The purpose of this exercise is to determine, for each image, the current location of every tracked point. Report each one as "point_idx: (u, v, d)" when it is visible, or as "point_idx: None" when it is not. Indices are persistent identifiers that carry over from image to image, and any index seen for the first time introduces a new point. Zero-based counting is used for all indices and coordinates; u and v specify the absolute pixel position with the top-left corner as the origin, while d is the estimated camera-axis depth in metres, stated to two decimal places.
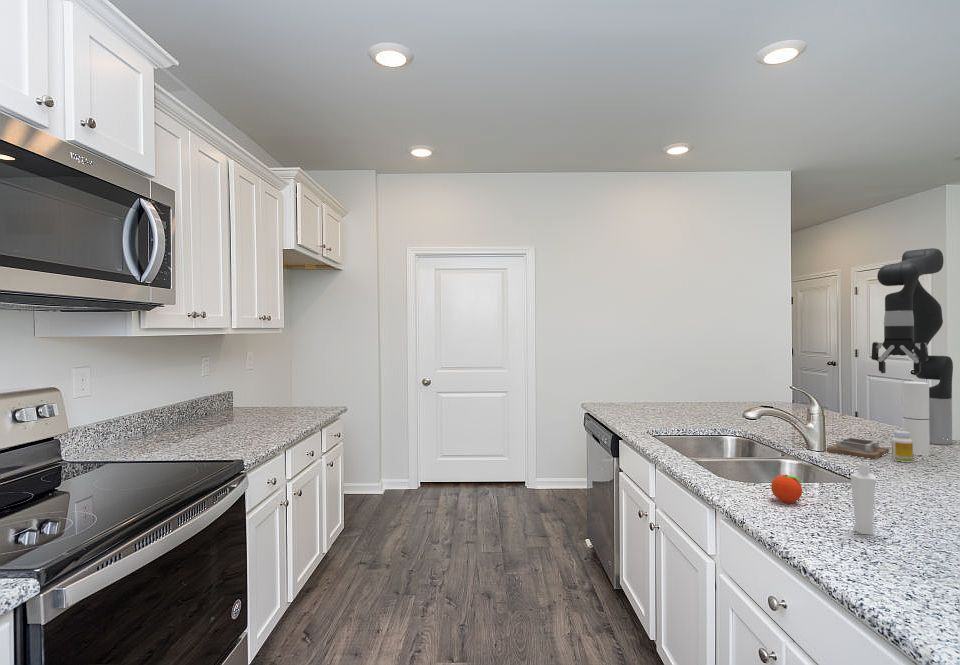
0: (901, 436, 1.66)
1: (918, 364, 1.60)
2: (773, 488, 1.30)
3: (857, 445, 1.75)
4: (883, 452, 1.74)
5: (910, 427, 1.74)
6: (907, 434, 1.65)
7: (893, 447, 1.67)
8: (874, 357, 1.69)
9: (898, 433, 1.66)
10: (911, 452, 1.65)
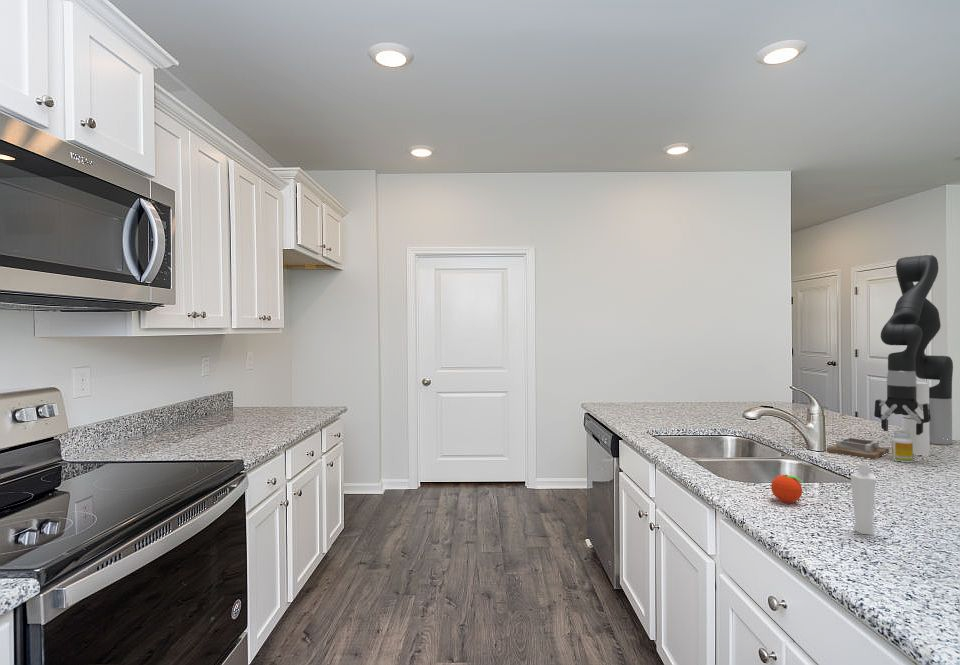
0: (901, 436, 1.66)
1: (920, 425, 1.62)
2: (773, 488, 1.30)
3: (857, 445, 1.75)
4: (883, 452, 1.74)
5: (910, 427, 1.74)
6: (907, 434, 1.65)
7: (893, 447, 1.67)
8: (877, 414, 1.71)
9: (898, 433, 1.66)
10: (911, 452, 1.65)
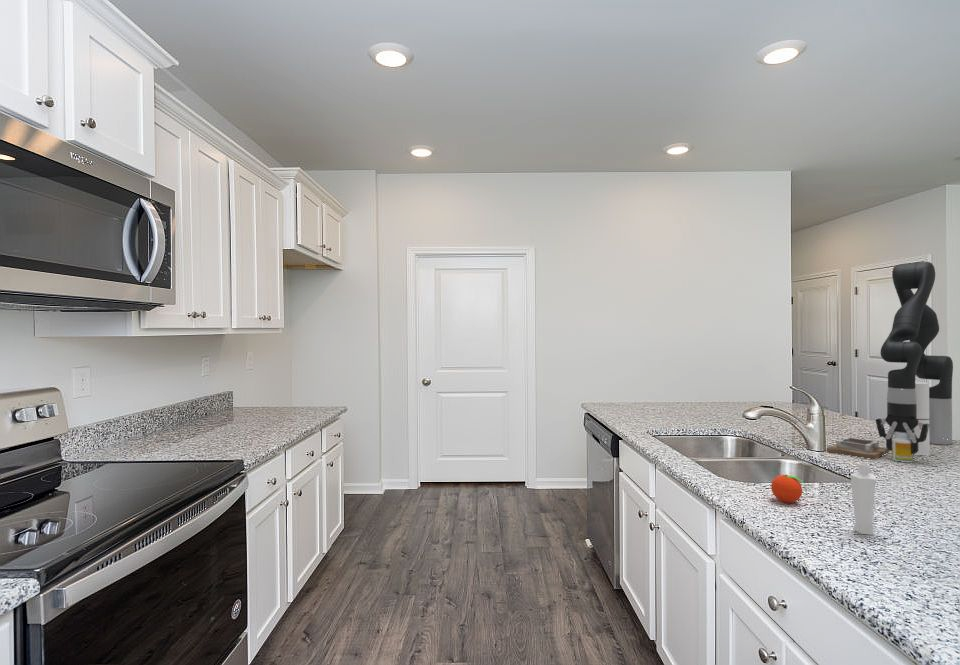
0: (901, 436, 1.66)
1: (916, 444, 1.63)
2: (773, 488, 1.30)
3: (857, 445, 1.75)
4: (883, 452, 1.74)
5: None
6: (907, 434, 1.65)
7: (894, 447, 1.67)
8: (882, 434, 1.70)
9: (898, 433, 1.66)
10: None
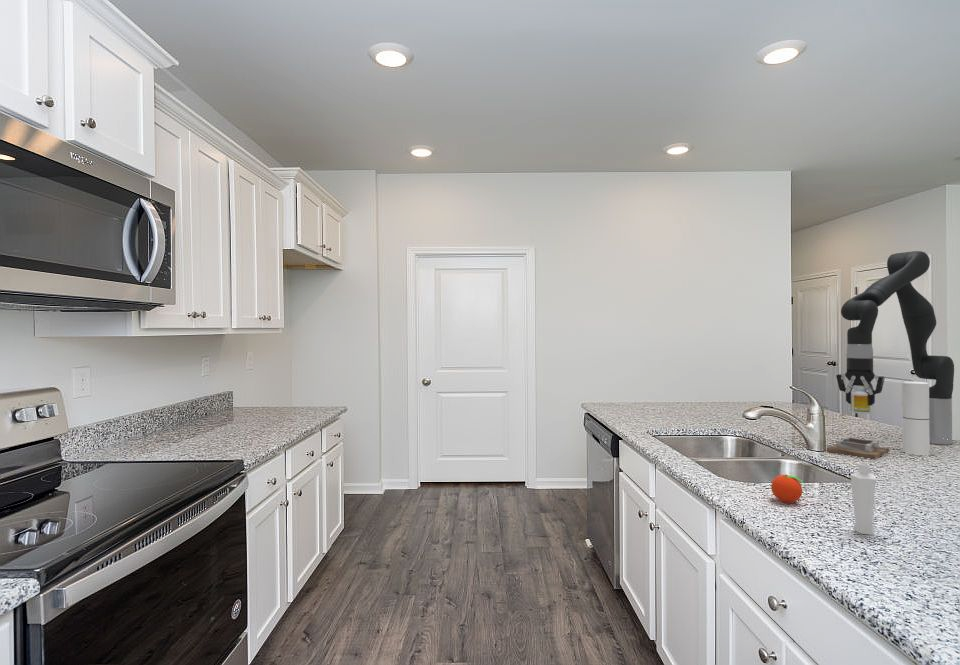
0: (859, 389, 1.76)
1: (872, 396, 1.74)
2: (773, 488, 1.30)
3: (857, 445, 1.75)
4: (883, 452, 1.74)
5: (910, 427, 1.74)
6: (864, 387, 1.76)
7: (852, 400, 1.78)
8: (842, 388, 1.81)
9: (856, 386, 1.77)
10: None
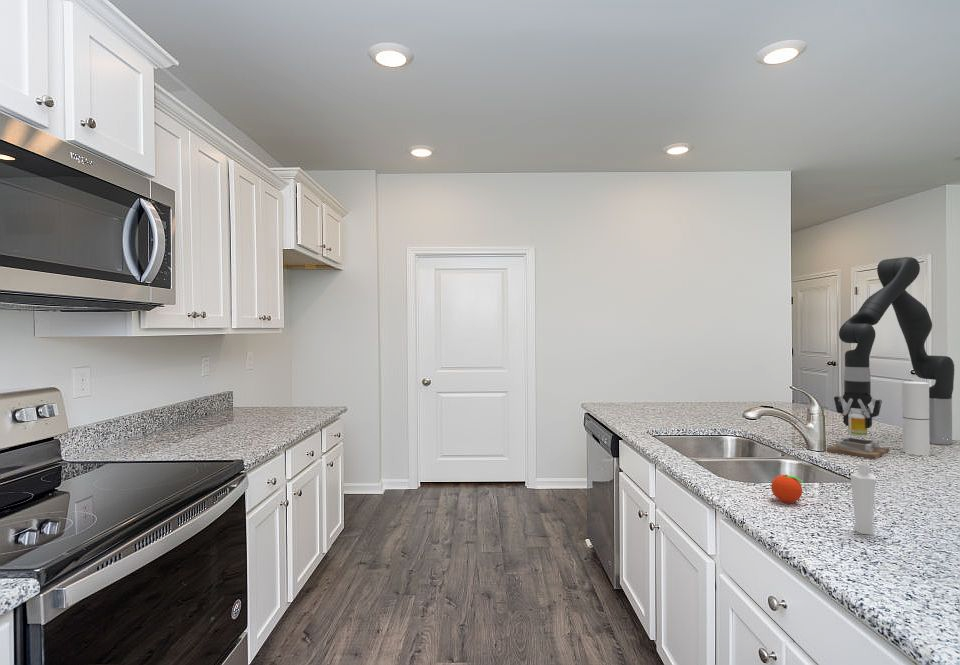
0: (856, 412, 1.77)
1: (869, 419, 1.75)
2: (773, 488, 1.30)
3: (857, 445, 1.75)
4: (883, 452, 1.74)
5: (910, 427, 1.74)
6: (862, 410, 1.76)
7: (849, 423, 1.79)
8: (839, 410, 1.82)
9: (854, 409, 1.78)
10: (865, 427, 1.76)
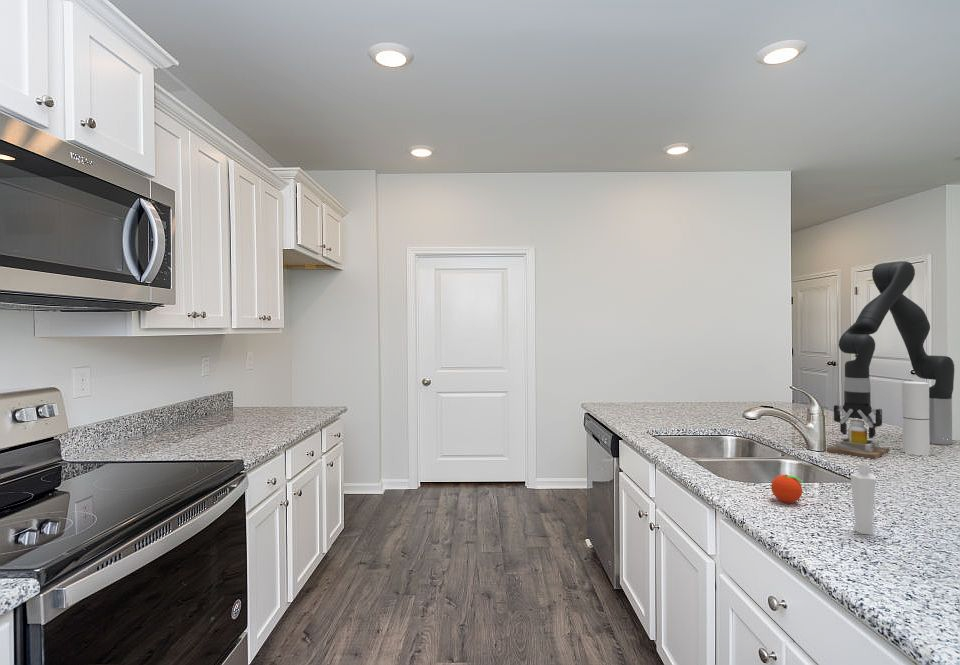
0: (856, 424, 1.77)
1: (873, 428, 1.74)
2: (773, 488, 1.30)
3: (857, 445, 1.75)
4: (883, 452, 1.74)
5: (910, 427, 1.74)
6: (862, 423, 1.77)
7: (850, 435, 1.79)
8: (836, 419, 1.83)
9: (853, 422, 1.78)
10: (866, 439, 1.76)
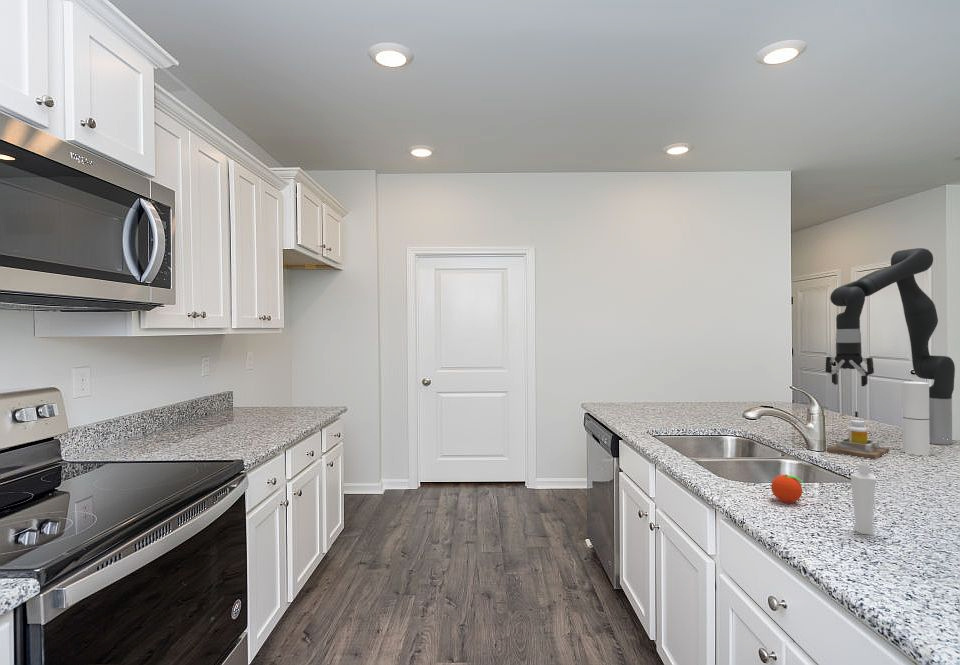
0: (857, 425, 1.77)
1: (865, 377, 1.80)
2: (773, 488, 1.30)
3: (857, 445, 1.75)
4: (883, 452, 1.74)
5: (910, 427, 1.74)
6: (862, 423, 1.77)
7: (850, 436, 1.79)
8: (828, 370, 1.88)
9: (854, 422, 1.78)
10: (866, 440, 1.76)
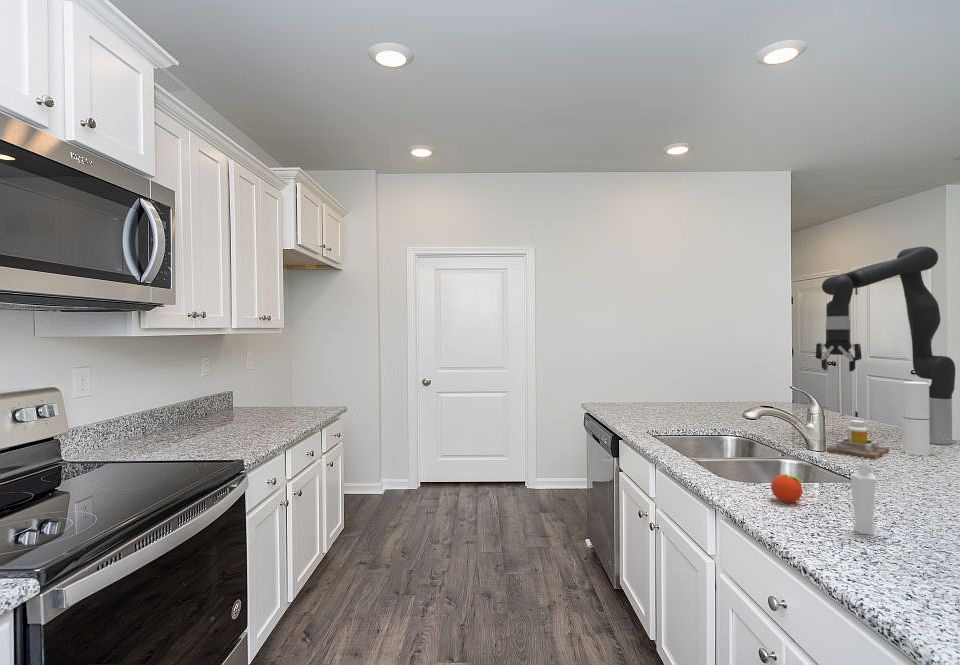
0: (856, 425, 1.77)
1: (853, 362, 1.87)
2: (773, 488, 1.30)
3: (857, 445, 1.75)
4: (883, 452, 1.74)
5: (910, 427, 1.74)
6: (862, 423, 1.77)
7: (850, 436, 1.79)
8: (818, 356, 1.96)
9: (854, 422, 1.78)
10: (866, 440, 1.76)
